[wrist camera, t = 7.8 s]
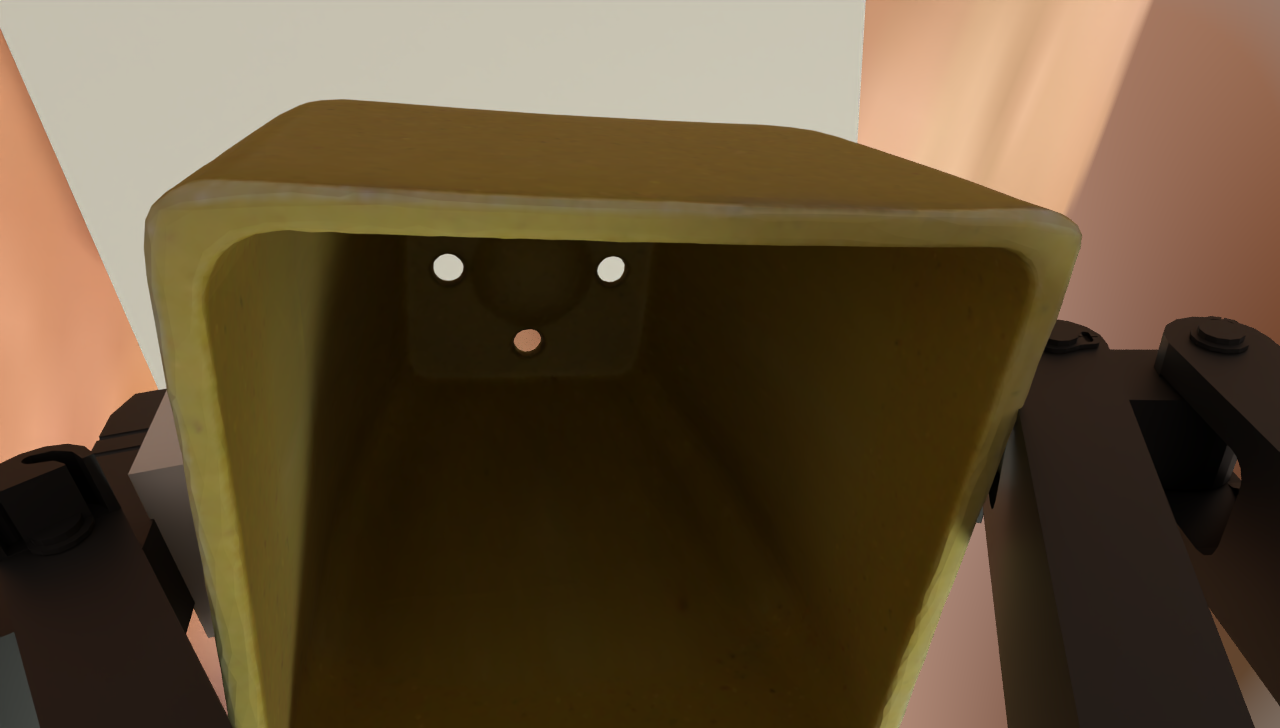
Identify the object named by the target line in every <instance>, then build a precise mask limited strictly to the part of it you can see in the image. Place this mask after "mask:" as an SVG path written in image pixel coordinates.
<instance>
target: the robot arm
mask: <svg viewBox="0 0 1280 728" xmlns="http://www.w3.org/2000/svg"><path fill="white" fill-rule="evenodd" d="M99 438H100V440H99V441H96V443H95V445H94V447H93V449H92V451H90V450H89V449H87V448H86V447H85V446H79V445H72V444H62V445H54V446H46V447H42V448H39V449H35V450H32V451H29V452H26V453H22V454H19V455H17V456H15V457H13V458H11V459H9V460H7V461H5V462H3V463H0V728H233V726H232V724H231V722H230V720H229V718H228V716H227V714H226V712H225V710H224V708H223V706H222V704H221V702H220V700H219V698H218V696H217V694H216V692H215V690H214V688H213V686H212V684H211V682H210V680H209V678H208V677H207V675H206V673H205V671H204V669H203V667H202V665H201V663H200V661H199V659H198V657H197V655H196V653H195V651H194V649H193V647H192V645H191V643H190V641H189V639H188V637H187V635H186V632H187V629H188V626H189V622H190V619H191V615H192V612H193V608H194V610H195V612H196V614H197V616H198V618H199V620H200V622H201V624H202V626H203V628H204V630H205V632H206V634H207V636H208V638H210V637H215V635H214V630H213V624H212V618H211V612H210V605H209V599H208V595H207V591H206V586H205V580H204V572H203V565H202V560H201V556H200V551H199V546H198V541H197V536H196V531H195V527H194V522H193V517H192V512H191V507H190V502H189V496H188V490H187V484H186V479H185V473H184V466H183V458H182V453H181V450H180V446H179V441H178V437H177V432H176V427H175V423H174V417H173V412H172V408H171V405H170V401H169V397H168V394H167V389H161V390H155V391H149V392H144V393H138V394H135V395H134V396H132V397H131V398H130V399H129V400H128V401H127V402H125V403H124V404H123V405H122V406H121V407H120V408H118V409H117V410H116V411H115V412H114V413H113V414H111V415H110V417H109V419H108V421H107V423H106V425H105V427H104V428H103V430H102V432H101V434H100V436H99ZM1237 459H1238V462H1239V465H1240V468H1241V479H1242V480H1240V479H1239V478H1238V477H1237V475H1236V474H1235V473H1234V472H1233V469H1234V466H1235V464H1236V461H1237ZM983 515H984V521H985V531H986V539H987V548H988V557H989V565H990V575H991V583H992V592H993V601H994V610H995V619H996V626H997V635H998V645H999V654H1000V662H1001V671H1002V680H1003V689H1004V697H1005V705H1006V715H1007V724H1008V728H1255V727H1254V725H1253V722H1252V719H1251V716H1250V714H1249V711H1248V709H1247V706H1246V704H1245V701H1244V698H1243V696H1242V693H1241V690H1240V688H1239V685H1238V683H1237V680H1236V677H1235V675H1234V672H1233V670H1232V667H1231V664H1230V662H1229V659H1228V657H1227V654H1226V651H1225V649H1224V646H1223V644H1222V641H1221V638H1220V636H1219V633H1218V631H1217V628H1216V625H1215V623H1214V620H1213V618H1212V615H1211V612H1210V610H1209V608H1210V609H1211V611H1212V612H1213V614H1214V615H1215V617H1216V618H1217V619H1218V621H1219V622H1220V624H1221V625H1222V626H1223V628H1224V629H1225V630H1226V632H1227V633H1228V635H1229V636H1230V637H1231V639H1232V640H1233V642H1234V643H1235V644H1236V646H1237V647H1238V648H1239V650H1240V651H1241V653H1242V654H1243V656H1244V657H1245V658H1246V660H1247V661H1248V662H1249V664H1250V665H1251V667H1252V668H1253V669H1254V671H1255V672H1256V673H1257V675H1258V676H1259V678H1260V679H1261V681H1262V682H1263V683H1264V685H1265V686H1266V687H1267V689H1268V690H1269V692H1270V693H1271V694H1272V696H1273V697H1274V699H1275V700H1276V701H1277V703H1278V704H1279V706H1280V346H1279V345H1278V344H1276V343H1275V342H1274V341H1273V340H1272V339H1270V338H1269V337H1267V336H1266V335H1264V334H1262V333H1261V332H1259V331H1257V330H1256V329H1254V328H1252V327H1248V326H1246V325H1243V324H1240V323H1238V322H1237V321H1235V320H1231V319H1227V318H1224V319H1221V317H1213V316H1210V317H1189V318H1183V319H1177V320H1175V321H1173V322H1171V323H1169V324H1167V325H1166V327H1165V330H1164V333H1163V336H1162V340H1161V343H1160V347H1159V350H1110V349H1109V347H1108V344H1107V343H1106V342H1105V340H1104V339H1103V338H1102V337H1101V336H1100V335H1099V334H1098V333H1096V332H1094V331H1092V330H1091V329H1089V328H1087V327H1085V326H1082V325H1079V324H1075V323H1072V322H1069V321H1063V320H1056V323H1055V325H1054V327H1053V330H1052V332H1051V334H1050V337H1049V339H1048V341H1047V344H1046V346H1045V349H1044V351H1043V354H1042V356H1041V358H1040V361H1039V363H1038V366H1037V369H1036V372H1035V375H1034V378H1033V381H1032V384H1031V387H1030V390H1029V393H1028V395H1027V398H1026V400H1025V402H1024V405H1023V407H1022V408H1020V409H1018V414H1017V419H1016V422H1015V425H1014V427H1013V429H1012V432H1011V434H1010V436H1009V439H1008V441H1007V444H1006V447H1005V449H1004V452H1003V455H1002V457H1001V460H1000V463H999V466H998V469H997V472H996V474H995V477H994V480H993V483H992V485H991V488H990V490H989V493H988V496H987V498H986V501H985V503H984V505H983V507H982V509H981V511H980V514H979V516H978V519H977V521H976V523H981V522H982V518H983Z"/></svg>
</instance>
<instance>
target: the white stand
mask: <svg viewBox="0 0 1280 728" xmlns="http://www.w3.org/2000/svg"><path fill="white" fill-rule="evenodd" d="M865 2H866V0H0V29H1V31H2V33H3V35H4V38H5V40H6V42H7V45H8V47H9V49H10V51H11V54H12V56H13V58H14V60H15V63H16V65H17V67H18V70H19V72H20V74H21V76H22V79H23V81H24V83H25V86H26V88H27V90H28V92H29V95H30V97H31V99H32V102H33V104H34V106H35V108H36V111H37V113H38V115H39V118H40V120H41V122H42V124H43V127H44V129H45V131H46V134H47V136H48V138H49V140H50V143H51V145H52V147H53V150H54V152H55V154H56V156H57V159H58V161H59V163H60V166H61V168H62V170H63V172H64V175H65V177H66V179H67V181H68V184H69V186H70V188H71V191H72V193H73V195H74V197H75V200H76V202H77V204H78V207H79V209H80V211H81V213H82V216H83V218H84V220H85V223H86V225H87V227H88V229H89V232H90V234H91V236H92V239H93V241H94V243H95V245H96V248H97V250H98V252H99V255H100V257H101V259H102V261H103V264H104V266H105V268H106V271H107V273H108V275H109V277H110V280H111V282H112V284H113V287H114V289H115V291H116V293H117V296H118V298H119V300H120V302H121V305H122V307H123V309H124V312H125V314H126V316H127V318H128V321H129V323H130V325H131V328H132V330H133V332H134V334H135V337H136V339H137V341H138V344H139V346H140V348H141V350H142V353H143V355H144V357H145V360H146V362H147V364H148V366H149V369H150V371H151V373H152V376H153V378H154V380H155V382H156V385H157V387H158V389H159V390H161V389H167V388H166V383H165V377H164V371H163V365H162V360H161V354H160V349H159V344H158V338H157V332H156V326H155V321H154V315H153V310H152V304H151V299H150V293H149V288H148V283H147V276H146V266H145V256H144V232H145V219H146V217H147V215H148V213H149V210H150V208H151V206H152V205H153V204H154V203H155V202H156V201H157V200H158V199H159V198H160V197H161V196H162V195H163V194H164V193H165V192H166V191H168V190H170V189H171V188H173V187H174V186H176V185H177V184H179V183H180V182H181V181H183V180H184V179H186V178H187V177H188V176H190V175H191V174H193V173H194V172H195V171H197V170H198V169H200V168H201V167H203V166H204V165H206V164H208V163H209V162H211V161H212V160H214V159H215V158H217V157H218V156H219V155H221V154H222V153H223V152H225V151H226V150H228V149H229V148H230V147H232V146H233V145H235V144H236V143H238V142H239V141H241V140H242V139H244V138H245V137H247V136H248V135H250V134H251V133H253V132H254V131H256V130H257V129H259V128H260V127H262V126H263V125H265V124H266V123H268V122H269V121H271V120H272V119H274V118H275V117H277V116H278V115H280V114H282V113H284V112H286V111H288V110H290V109H293V108H295V107H297V106H299V105H302V104H305V103H307V102H313V101H319V100H335V99H349V100H363V101H377V102H391V103H404V104H417V105H429V106H442V107H455V108H468V109H482V110H496V111H510V112H524V113H538V114H555V115H573V116H591V117H609V118H628V119H647V120H666V121H687V122H709V123H733V124H761V125H773V126H784V127H793V128H800V129H807V130H814V131H818V132H822V133H825V134H829V135H833V136H837V137H840V138H843V139H846V140H849V141H852V142H855V143H857V139H858V121H859V104H860V87H861V70H862V53H863V36H864V19H865ZM597 271H598V275H599V277H600V278H601V279H602V280H603V281H607V282H613V281H615V280H617V279H619V278H620V277H621V276H622V274H623V272H624V263H623V261H622V260H621V259H620V258H618V257H608V258H606V259H604V260H603V261H602V262H601V263H600V265H599V266H598V270H597ZM434 272H435V274H436V275H437V276H438V277H439V278H440V279H442V280H454V279H456V278H458V277H459V276H460V275H461V273H462V272H463V263H462V262H461V260H460V259H459V258H457V257H456V256H455V255H452V254H444V255H441V256H439V257H438V258H437V259H436V260H435V262H434Z"/></svg>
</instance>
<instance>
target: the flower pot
mask: <svg viewBox="0 0 1280 728" xmlns="http://www.w3.org/2000/svg"><path fill="white" fill-rule="evenodd" d="M1081 239H1082V234H1081V232H1080V230H1079V227H1078V226H1077V225H1076V224H1075V223H1074V222H1073V221H1072V220H1070V219H1069V218H1068V217H1066V216H1064V215H1063V214H1060V213H1058V212H1055V211H1052V210H1049V209H1046V208H1043V207H1040V206H1037V205H1034V204H1031V203H1028V202H1025V201H1022V200H1019V199H1016V198H1014V197H1011V196H1008V195H1006V194H1003V193H1000V192H998V191H995V190H992V189H990V188H987V187H984V186H982V185H979V184H976V183H974V182H971V181H968V180H965V179H962V178H959V177H957V176H954V175H951V174H948V173H945V172H942V171H939V170H936V169H934V168H931V167H928V166H925V165H922V164H919V163H916V162H913V161H910V160H907V159H904V158H901V157H898V156H895V155H891V154H888V153H885V152H882V151H879V150H876V149H873V148H870V147H867V146H864V145H861V144H858V143H855V142H852V141H849V140H846V139H843V138H840V137H837V136H833V135H829V134H825V133H822V132H818V131H814V130H807V129H800V128H793V127H784V126H773V125H761V124H733V123H709V122H687V121H666V120H647V119H628V118H609V117H591V116H573V115H555V114H538V113H524V112H510V111H496V110H482V109H468V108H455V107H442V106H429V105H417V104H404V103H391V102H377V101H363V100H349V99H335V100H319V101H313V102H307V103H305V104H302V105H299V106H297V107H295V108H293V109H290V110H288V111H286V112H284V113H282V114H280V115H278V116H277V117H275V118H274V119H272V120H271V121H269V122H268V123H266V124H265V125H263V126H262V127H260V128H259V129H257V130H256V131H254V132H253V133H251V134H250V135H248V136H247V137H245V138H244V139H242V140H241V141H239V142H238V143H236V144H235V145H233V146H232V147H230V148H229V149H228V150H226V151H225V152H223V153H222V154H221V155H219V156H218V157H217V158H215V159H214V160H212V161H211V162H209V163H208V164H206V165H204V166H203V167H201V168H200V169H198V170H197V171H195V172H194V173H193V174H191V175H190V176H188V177H187V178H186V179H184V180H183V181H181V182H180V183H179V184H177V185H176V186H174V187H173V188H171V189H170V190H168V191H166V192H165V193H164V194H163V195H162V196H161V197H160V198H159V199H158V200H157V201H156V202H155V203H154V204H153V205H152V206H151V208H150V210H149V213H148V215H147V217H146V219H145V232H144V256H145V266H146V276H147V283H148V288H149V293H150V299H151V304H152V310H153V315H154V321H155V326H156V332H157V338H158V344H159V349H160V354H161V360H162V365H163V371H164V377H165V383H166V388H167V394H168V397H169V401H170V405H171V408H172V412H173V417H174V423H175V427H176V432H177V437H178V441H179V446H180V450H181V453H182V458H183V466H184V473H185V479H186V484H187V490H188V496H189V502H190V507H191V512H192V517H193V522H194V527H195V531H196V536H197V541H198V546H199V551H200V556H201V560H202V565H203V572H204V580H205V586H206V591H207V595H208V599H209V605H210V612H211V618H212V624H213V630H214V635H215V641H216V647H217V653H218V658H219V662H220V667H221V673H222V680H223V687H224V693H225V699H226V704H227V710H228V718H229V720H230V722H231V724H232V726H233V728H899V727H900V724H901V722H902V719H903V717H904V714H905V711H906V708H907V705H908V702H909V700H910V697H911V694H912V691H913V688H914V685H915V683H916V680H917V678H918V675H919V673H920V671H921V668H922V665H923V663H924V661H925V658H926V655H927V652H928V649H929V646H930V643H931V640H932V638H933V635H934V632H935V629H936V627H937V624H938V621H939V618H940V615H941V612H942V609H943V607H944V604H945V602H946V600H947V597H948V595H949V593H950V590H951V588H952V585H953V582H954V580H955V578H956V575H957V572H958V570H959V567H960V564H961V562H962V559H963V556H964V554H965V551H966V548H967V546H968V543H969V540H970V537H971V535H972V532H973V529H974V527H975V524H976V521H977V519H978V516H979V514H980V511H981V509H982V507H983V505H984V503H985V501H986V498H987V496H988V493H989V490H990V488H991V485H992V483H993V480H994V477H995V474H996V472H997V469H998V466H999V463H1000V460H1001V457H1002V455H1003V452H1004V449H1005V447H1006V444H1007V441H1008V439H1009V436H1010V434H1011V432H1012V429H1013V427H1014V425H1015V422H1016V419H1017V414H1018V409H1020V408H1022V407H1023V405H1024V402H1025V400H1026V398H1027V395H1028V393H1029V390H1030V387H1031V384H1032V381H1033V378H1034V375H1035V372H1036V369H1037V366H1038V363H1039V361H1040V358H1041V356H1042V354H1043V351H1044V349H1045V346H1046V344H1047V341H1048V339H1049V337H1050V334H1051V332H1052V330H1053V327H1054V325H1055V323H1056V320H1057V317H1058V314H1059V311H1060V308H1061V305H1062V302H1063V299H1064V295H1065V293H1066V289H1067V287H1068V284H1069V281H1070V278H1071V274H1072V271H1073V268H1074V265H1075V262H1076V259H1077V256H1078V253H1079V250H1080V247H1081ZM444 254H452V255H455V256H456V257H457V258H459V259H460V260H461V262H462V263H463V272H462V273H461V275H460V276H459V277H458V278H456V279H454V280H442V279H440V278H439V277H438V276H437V275H436V274H435V272H434V262H435V260H436V259H437V258H438V257H439V256H441V255H444ZM608 257H618V258H620V259H621V260H622V261H623V263H624V272H623V274H622V276H621V277H620V278H619V279H617V280H615V281H613V282H607V281H603V280H602V279H601V278H600V277H599V275H598V271H597V270H598V266H599V265H600V263H601V262H602V261H603V260H604V259H606V258H608ZM527 329H533V330H536V331H537V332H538V333H539V334H540V336H541V342H540V343H539V345H538V346H537V347H536V348H535V349H534V350H532V351H527V352H524V351H521V350H519V349H518V348H517V347H516V346H515V344H514V338H515V336H516V335H517V333H519V332H520V331H522V330H527Z"/></svg>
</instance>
